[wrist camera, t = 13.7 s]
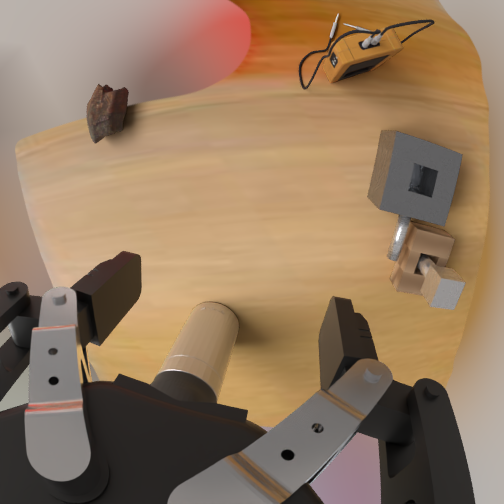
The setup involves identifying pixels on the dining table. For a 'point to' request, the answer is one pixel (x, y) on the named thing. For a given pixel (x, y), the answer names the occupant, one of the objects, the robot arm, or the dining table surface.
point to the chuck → (412, 182)
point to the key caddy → (415, 243)
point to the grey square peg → (439, 284)
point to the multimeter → (360, 51)
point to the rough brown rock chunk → (106, 111)
